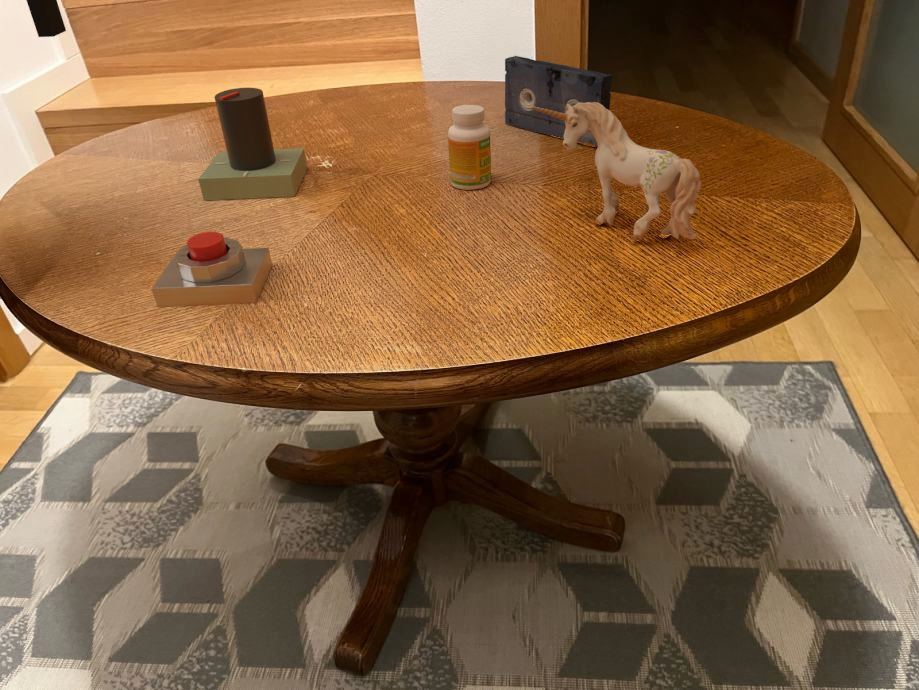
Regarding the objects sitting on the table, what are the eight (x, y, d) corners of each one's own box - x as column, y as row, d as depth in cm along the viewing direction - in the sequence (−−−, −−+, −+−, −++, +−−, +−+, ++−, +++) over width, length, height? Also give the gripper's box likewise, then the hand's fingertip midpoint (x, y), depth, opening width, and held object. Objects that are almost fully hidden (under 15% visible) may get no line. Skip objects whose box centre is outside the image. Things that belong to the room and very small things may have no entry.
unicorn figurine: (557, 199, 91) (561, 89, 83) (713, 233, 81) (733, 112, 74) (528, 220, 86) (530, 106, 79) (690, 259, 77) (709, 133, 69)
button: (186, 263, 73) (181, 248, 72) (196, 247, 76) (192, 232, 75) (222, 262, 73) (218, 246, 72) (231, 246, 76) (227, 230, 75)
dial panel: (203, 201, 95) (197, 177, 94) (223, 172, 104) (218, 150, 102) (294, 196, 95) (290, 173, 93) (307, 168, 104) (304, 146, 102)
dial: (253, 152, 101) (239, 83, 96) (285, 158, 98) (272, 88, 93) (220, 166, 97) (203, 95, 92) (252, 173, 94) (237, 100, 89)
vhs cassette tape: (608, 144, 106) (613, 74, 101) (595, 150, 105) (599, 78, 99) (517, 119, 118) (517, 54, 112) (504, 124, 116) (503, 58, 110)
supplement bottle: (485, 192, 94) (483, 116, 88) (445, 189, 95) (441, 114, 90) (495, 176, 98) (494, 103, 92) (456, 174, 99) (453, 101, 94)
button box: (157, 307, 73) (145, 272, 71) (181, 269, 80) (172, 236, 78) (256, 303, 73) (248, 268, 71) (272, 265, 80) (265, 232, 77)
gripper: (-158, -278, 57) (-33, 44, 70) (7, -285, 56) (101, 40, 69) (-96, -266, 63) (8, 27, 76) (53, -272, 62) (131, 24, 76)
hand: (52, 33), depth 73 cm, fingers closed
